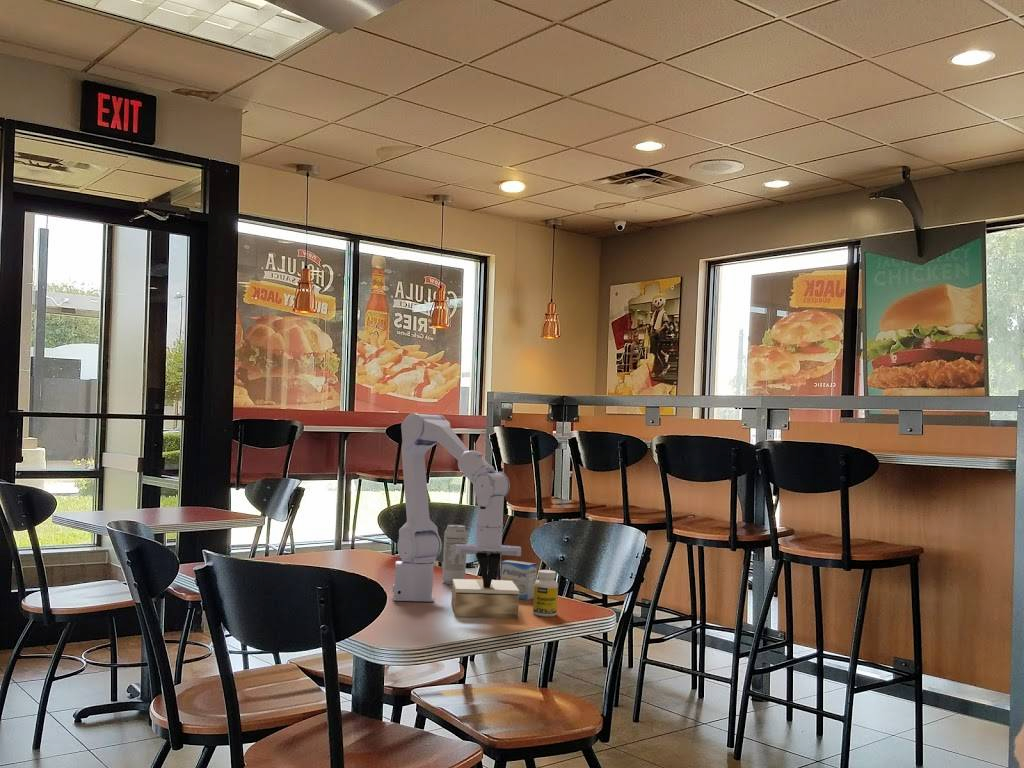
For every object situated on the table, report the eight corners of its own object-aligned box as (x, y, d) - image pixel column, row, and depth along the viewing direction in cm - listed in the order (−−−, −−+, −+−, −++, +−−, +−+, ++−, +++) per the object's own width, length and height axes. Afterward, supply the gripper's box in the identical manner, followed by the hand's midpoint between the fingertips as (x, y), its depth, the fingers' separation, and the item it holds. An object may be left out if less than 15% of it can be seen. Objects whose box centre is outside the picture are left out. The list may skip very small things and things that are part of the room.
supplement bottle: (533, 616, 211) (535, 572, 212) (532, 611, 217) (534, 568, 217) (557, 617, 212) (559, 573, 212) (555, 612, 217) (557, 569, 217)
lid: (455, 592, 207) (456, 588, 207) (452, 582, 221) (452, 578, 221) (519, 594, 209) (519, 590, 209) (511, 584, 223) (511, 580, 223)
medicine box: (499, 596, 233) (501, 561, 234) (507, 593, 237) (509, 559, 238) (527, 600, 230) (529, 564, 230) (535, 598, 234) (537, 562, 234)
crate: (454, 616, 207) (455, 593, 207) (451, 603, 221) (452, 582, 221) (517, 618, 208) (519, 595, 209) (510, 605, 222) (511, 584, 223)
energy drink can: (466, 581, 251) (469, 525, 252) (462, 585, 245) (465, 527, 246) (444, 580, 252) (447, 523, 253) (440, 584, 246) (443, 526, 247)
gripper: (458, 527, 207) (455, 589, 206) (524, 529, 208) (521, 591, 208) (456, 523, 214) (453, 583, 213) (520, 525, 215) (517, 585, 215)
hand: (486, 587), depth 211 cm, fingers closed, pressing on lid
